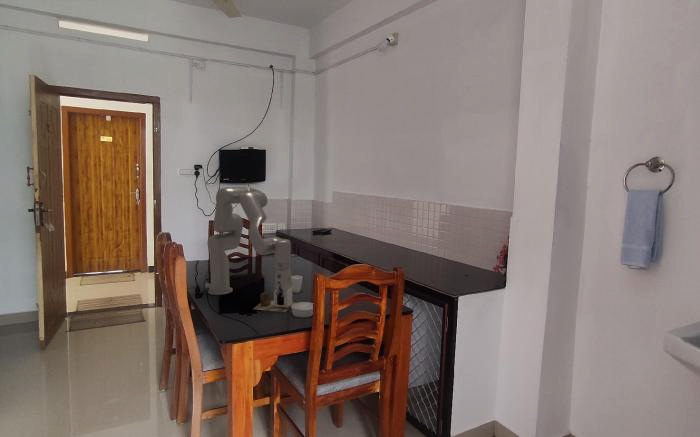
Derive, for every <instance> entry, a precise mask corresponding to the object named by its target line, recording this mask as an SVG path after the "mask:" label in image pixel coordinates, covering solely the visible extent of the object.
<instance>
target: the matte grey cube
mask: <svg viewBox="0 0 700 437" xmlns="http://www.w3.org/2000/svg"><path fill="white" fill-rule="evenodd" d="M280 290H282V289H280ZM292 291H293V290H292V287H290V288H289V289H287V290H286V291H283V297H284V305H277V294H276V289H274V290H273V301H274V306H276V307H288V306H290V305H291V304H292V302H293V292H292ZM280 292H281V291H280ZM281 293H282V292H281Z"/></svg>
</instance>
